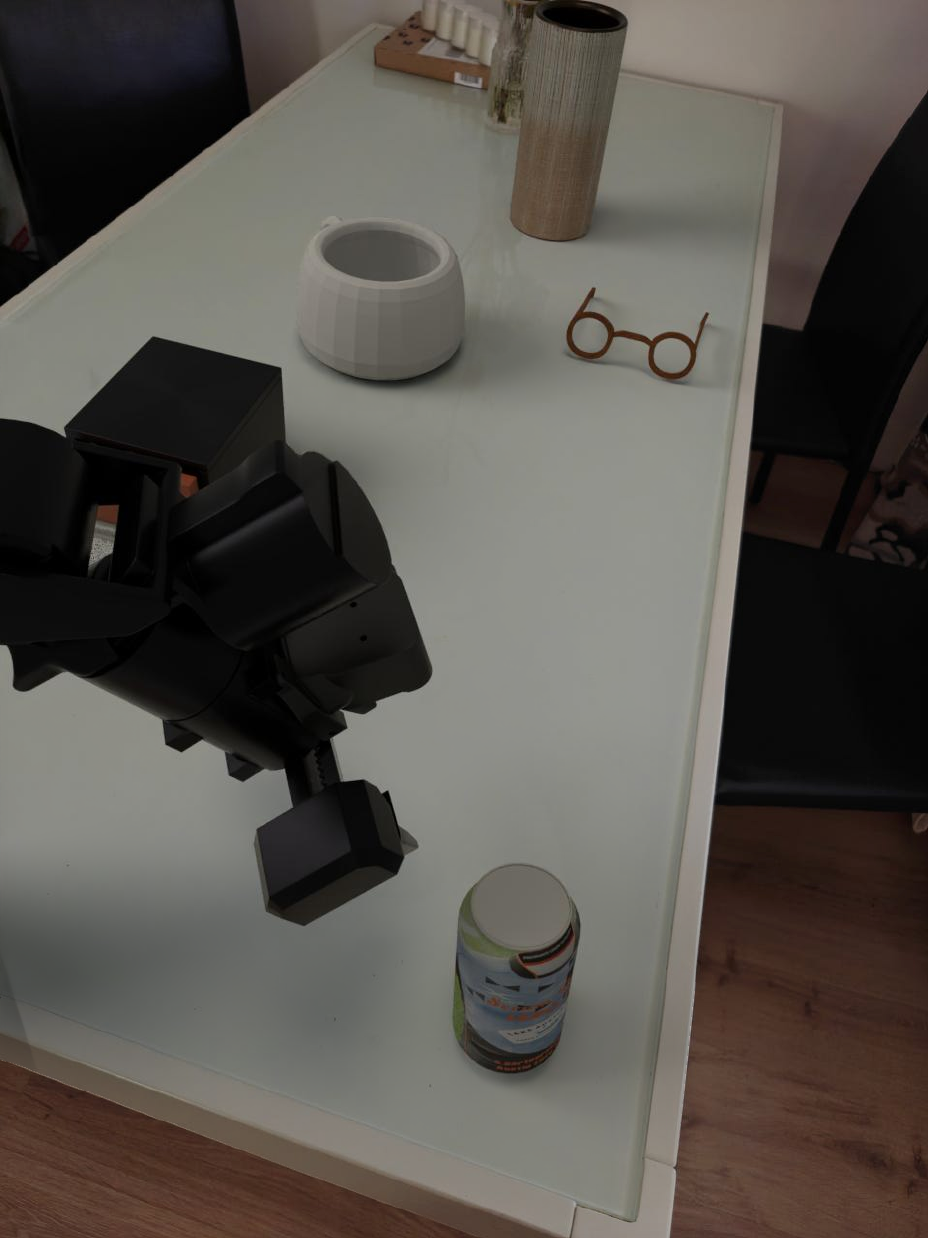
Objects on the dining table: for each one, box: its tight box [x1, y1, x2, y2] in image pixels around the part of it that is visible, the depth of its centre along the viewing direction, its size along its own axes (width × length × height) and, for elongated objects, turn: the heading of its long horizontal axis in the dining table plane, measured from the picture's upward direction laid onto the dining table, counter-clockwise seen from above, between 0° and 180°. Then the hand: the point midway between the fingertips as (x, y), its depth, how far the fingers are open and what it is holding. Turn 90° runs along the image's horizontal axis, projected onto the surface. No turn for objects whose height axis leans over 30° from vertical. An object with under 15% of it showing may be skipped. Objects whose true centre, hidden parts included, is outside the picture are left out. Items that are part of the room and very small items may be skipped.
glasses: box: [565, 286, 710, 381], centre depth 103 cm, size 13×13×5 cm
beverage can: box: [452, 862, 582, 1075], centre depth 51 cm, size 6×7×12 cm
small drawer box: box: [63, 335, 287, 489], centre depth 81 cm, size 14×12×9 cm
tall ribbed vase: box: [509, 0, 629, 241], centre depth 113 cm, size 10×10×23 cm
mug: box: [295, 214, 466, 381], centre depth 98 cm, size 21×17×10 cm
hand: (389, 775), depth 54 cm, fingers open, 9 cm apart
